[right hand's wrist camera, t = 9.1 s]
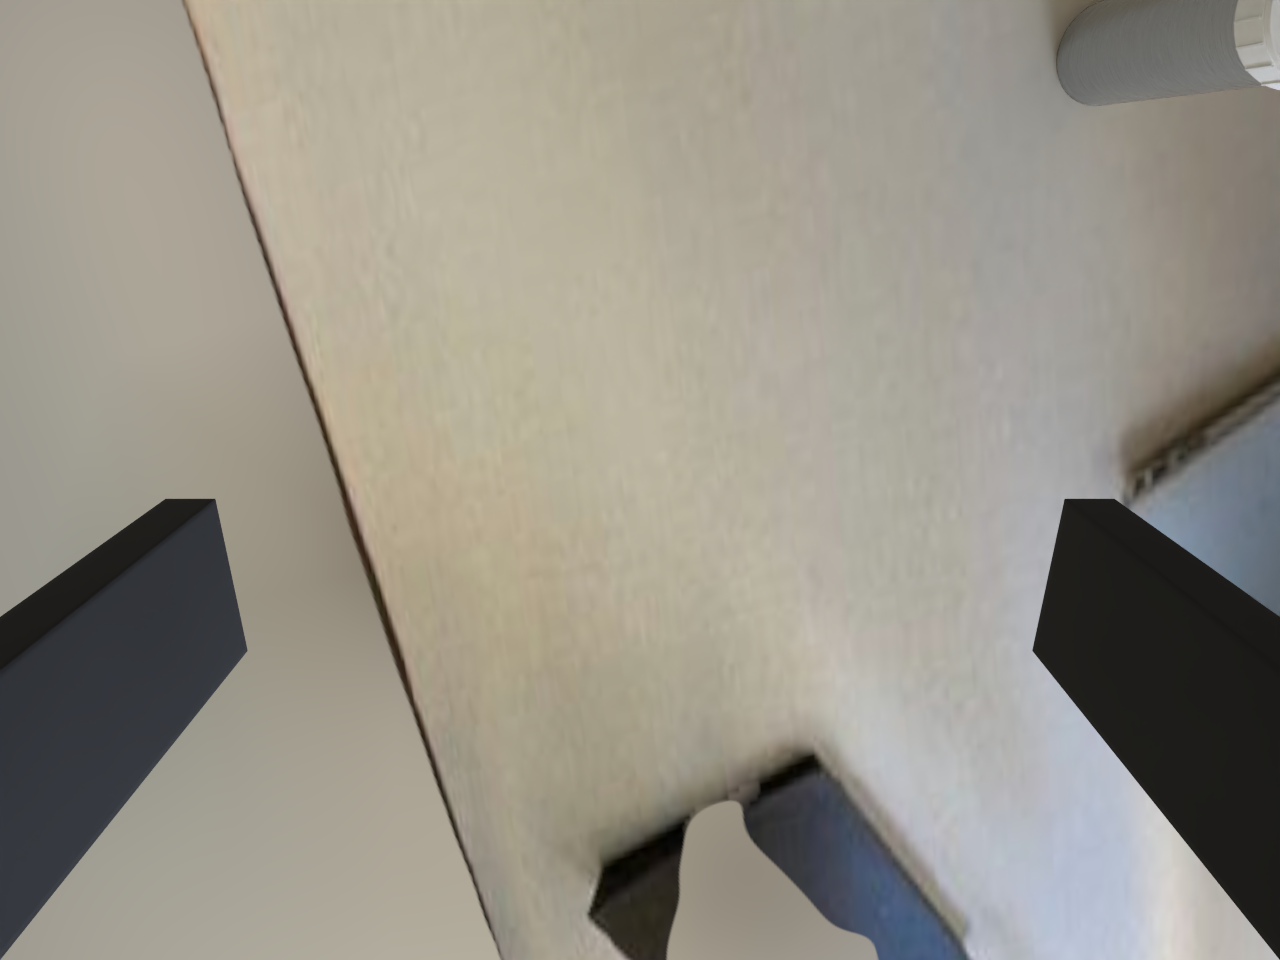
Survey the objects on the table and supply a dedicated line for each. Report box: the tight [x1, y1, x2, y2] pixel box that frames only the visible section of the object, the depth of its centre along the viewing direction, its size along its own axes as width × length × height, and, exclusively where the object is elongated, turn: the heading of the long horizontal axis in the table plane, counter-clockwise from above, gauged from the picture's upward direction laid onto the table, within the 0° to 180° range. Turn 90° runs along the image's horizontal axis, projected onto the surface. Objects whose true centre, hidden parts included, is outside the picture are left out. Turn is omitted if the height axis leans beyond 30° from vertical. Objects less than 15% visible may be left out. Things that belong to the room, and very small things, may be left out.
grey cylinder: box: [1057, 0, 1262, 106], centre depth 38 cm, size 5×5×17 cm
